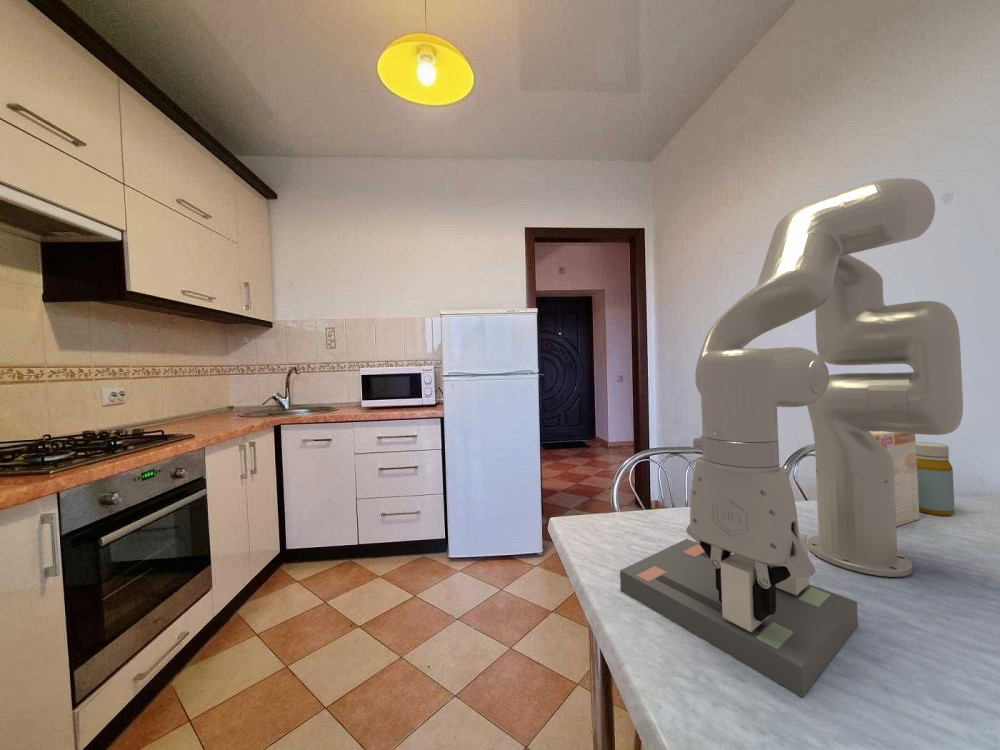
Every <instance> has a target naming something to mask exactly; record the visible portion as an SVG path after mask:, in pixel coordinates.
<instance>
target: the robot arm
mask: <svg viewBox="0 0 1000 750" xmlns="http://www.w3.org/2000/svg"><path fill="white" fill-rule="evenodd" d="M933 194H934V193H933V192H932V190H931V189H930V187H929V186H928V185H927V184H926V183H925V182H923V181H921V180H919V179H916V178H902V177H901V178H900V177H899V178H898V177H897V178H885V179H879V180H875V181H870V182H868V183H864V184H861V185H859V186H856V187H853V188H851V189H847V190H844V191H842V192H838V193H836V194H833V195H830V196H827V197H824V198H821V199H819V200H816V201H813V202H810V203H807V204H805V205H802V206H799V207H798V208H796V209H794V210H792V211H790V212H788V213H787V214H786V215H785V216H784V217H782V219H780V220H779V222H778V223H777V224H776V227H775V229H774V231H773V234H772V237H771V241H770V243H769V246H768V250H767V252H766V256H765V259H764V262H763V265H762V268H761V271H760V274H759V277H758V281H757V284H756V285H755V287H754V288H752V289H751V290H750V291H749V292H747V293H746V294H745V295H744V296H742V297H741V298H740V299H738V300H737V301H736V302H735V303H734V304H733V305H732V306H731V307H729V308H728V309H727V310H726V311H725V312H724V313H723V314H722V315H720V317H719V318H717V320H716V321H715V322H714V323H713V325H712V326H711V327H710V329H709V330H708V332H707V334H706V337H705V340H704V342H703V344H702V348H701V351H700V354H699V357H698V359H697V362H696V363H697V364H696V366H695V367H696V368H695V374H694V375H695V376H694V377H695V379H694V380H695V381H694V382H695V386H696V389H697V392H698V393H699V394H700V400H701V401H700V405H701V406H700V407H701V430H702V431H701V433H702V434H701V435H700V437H694V439H693V441H692V445H693V447H694V448H696V449H699V450H701V456H703V458H698V459H696V461H695V465H694V470H693V475H692V482H691V490H690V505H689V506H690V507H689V522H690V523H689V524H688V526H687V527H686V531H685V532H686V534H687V535H689V537H691V538H692V539H693V541H694V542H697V543H699V544H700V545H701V547H702V548H703V550H704V551H705V552H706V554H707V555H708V556H709V558H710V563H711V565H712V566H713V567H714V568H715V573H716V589H717V590H718V591H719V602H721V603H722V587H721V561H723V560H724V559H726V558H728V557H729V556H731V555H733V554H737V555H740V556H742V557H745V558H748V559H751V560H754V561H755V567H756V574H757V582H756V583H755V584H753V611H754V618H755V619H756V620H758V621H760V622H762V621H763V620H765V619H766V618H767V617H768V616H769V615H770V614H771V615H773V614H774V613H775V611H776V584H777V583H780V582H782V581H784V580H786V579H787V578H807V577H809V578H811V576H813V575H814V574H815V573H816V568H815V566H814V565H813V562H812V561H811V559H810V558H809V555H808V556H807V554H806V553H805V551H804V549H803V548H802V546H801V544H800V540H799V533H800V529H799V528H800V527H799V520H798V513H797V507H796V502H795V497H794V492H793V488H792V485H791V481H790V477H789V474H788V472H787V468H786V467H780V451H779V450H780V448H779V423H778V422H779V420H778V408H800V407H805V406H807V407H806V408H807V410H808V414H809V419H810V423H811V427H812V433H813V440H814V453H815V454H814V455H815V456H814V457H815V474H816V475H815V476H816V477H815V479H816V501H817V504H816V505H817V521H818V525H817V528H818V535H815V536H812V537H809V538H807V543H808V550H809V551H810V552H811V553H812V554H814V555H815V556H817V557H818V558H819V559H821V560H823V561H825V562H827V563H830V564H832V565H835V566H837V567H841V568H844V569H846V570H850V571H853V572H856V573H857V572H858V573H862V574H867V575H871V576H878V577H888V578H898V577H900V578H901V577H907V576H909V575H911V574H912V573H913V562H911V561H910V559H909V558H907V557H906V556H905V555H903V554H901V553H900V552H898V540H897V539H898V538H897V526H896V511H895V488H894V464H893V460H892V457H891V455H890V453H889V452H888V450H887V449H886V448H885V447H884V446H883V444H882V443H881V442H879V441H878V440H877V439H876V438H875V437H874V436H873V435H872V434H871V433H870V432H869V431H884V432H897V433H910V434H915V435H926V436H927V435H928V436H929V435H930V436H932V435H933V436H939V435H940V436H941V435H942V436H943V435H947V434H951V433H953V432H955V431H956V430H957V429H958V428H959V427H960V425H961V423H962V419H963V414H964V412H963V411H964V401H963V400H964V394H963V378H962V375H963V374H962V357H961V356H962V355H961V337H960V329H959V324H958V321H957V318H956V315H955V313H954V311H953V310H952V309H951V307H950V306H948V305H946V304H945V303H943V302H939V301H934V300H932V301H931V300H925V301H924V300H923V301H912V302H904V303H896V304H891V305H885V301H884V288H883V287H884V281H883V277H882V276H881V273H879V272H878V271H877V270H876V269H874V268H873V267H872V266H871V265H869V264H868V263H866V262H864V261H862V260H860V259H858V258H856V257H854V256H853V255H851V254H855V253H859V252H864V251H867V250H868V251H869V250H872V249H878V248H881V247H885V246H889V245H893V244H899V243H902V242H906V241H907V242H908V241H910V240H914V239H917V238H919V237H921V236H922V235H924V234H925V233H926V231H927V230H928V229H929V228H930V226H931V224H932V222H933V220H934V217H935V212H936V202H935V201H936V200H935V197H934V195H933ZM813 311H815V340H816V343H815V344H816V349H817V353H816V352H815V351H813V350H811V349H808V348H803V347H796V346H790V347H787V346H784V347H773V348H772V347H771V348H745V347H746V346H747V345H748V344H749V343H751V342H752V341H753V340H755V339H757V338H758V337H760V336H761V335H763V334H766V333H768V332H770V331H772V330H774V329H776V328H779V327H781V326H784V325H786V324H788V323H791V322H792V321H795V320H797V319H800V318H801V317H803V316H805V315H808V314H809V313H811V312H813ZM826 363H827V364H828V365H834V366H872V365H879V366H880V365H902V364H903V365H908V366H910V367H911V369H912V370H913V372H912V371H910V372H909V371H908V372H905V371H904V372H850V373H849V372H847V373H844V372H843V373H834V374H833V373H832V374H830V373H829V372H830V371H829V368H828V365H827V364H826ZM789 558H790V560H791V563H788V564H787V562H788V560H789Z"/></svg>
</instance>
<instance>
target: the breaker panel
mask: <svg viewBox="0 0 1000 750" xmlns="http://www.w3.org/2000/svg"><path fill="white" fill-rule="evenodd" d="M619 577H620V578H619V580H620V581H619V582H620V591H621V592H622V593H624V594H626V595H628V596H630V597H632V598H633V599H634V600H637V601H638V602H640V603H641V604H642V605H645V606H646V607H649V608H650V609H651V610H652V611H655V612H657V613H658V614H660V615H662V616H663V617H665V618H667V619H668V620H670V621H673V623H675V624H676V625H678V626H680V627H681V628H684V629H685V630H687V631H689V632H691V633H692V634H694V635H696V636H697V637H699V638H700V639H702V640H703V641H705V642H708V643H709V644H711V645H712V646H714V647H716V648H718V649H719V650H721V651H722V652H724V653H726V654H728V655H729V656H731V657H733V658H735V659H736V660H738V661H740V662H742V663H743V664H745V665H746V666H748V667H750V668H752V669H753V670H755V671H756V672H758V673H760V674H762V675H763V676H765V677H766V678H768V679H770V680H772V681H774V682H775V683H777V684H779V685H780V686H782V687H783V688H785V689H787V690H789V691H791V692H792V693H794V694H796V695H797V696H799V697H801V698H804V697H805V696H806V695H807V693H808V692H809V691H810V689H811V688H812V686H813V685H814V684H815V683H816V681H817V680H818V679H819V677H820V676H821V675H822V674H823V672H824V671H825V669H826V668H827V667H828V665H829V664H830V663H831V662H832V660H833V659H834V658H835V656H836V655H838V652H839V651H840V650H841V649H842V647H843V646H844V645H845V643H846V642H847V641H848V640H849V638H850V637H851V635H852V634H853V633H854V632H855V630H856V629H857V628H858V627H859V621H858V620H859V619H858V618H859V617H858V601H855V600H853V599H850V598H848V597H844V596H842V595H839V594H837V593H834V592H832V591H829V590H826V589H823V588H821V587H818V586H815V585H813V584H810V583H809V585H808V586H806V587H805V588H804V589H803V590H802V591H801V592H800V593H799V594H797V595H794V594H792V593H789V592H787V591H784V590H782V589H779V588H777V587H776V611H775V613H774V614H773V615H771V614H770V615H769V616H768V618H767V619H766V620H765V621H763V622H762V623H761V624H760V625H759V626H758V627H757V628H755V629H754V630H753V631H752V632H750V631H748V630H746V629H744V628H742V627H740V626H738V625H736V624H734V623H732V622H730V621H729V620H727V619H725V618H723V613H722V603H721V602H719V591H718V590H717V589H716V573H715V568H714V567H713V566H712V565H711V563H710V558H709V556H708V555H707V554H706V552H705V551H704V550H703V548H702V547H701V545H700V544H699V543H697V542H696V541H695V540H691V539H689V538H685V539H683V540H681V541H679V542H677V543H674V544H673V545H670V546H668V547H666V548H664V549H662V550H660V551H658V552H656V553H654V554H652V555H650V556H648V557H645V558H643V559H641V560H639V561H637V562H634V563H633V564H631V565H628V566H626V567H624V568H622V569H620V570H619Z"/></svg>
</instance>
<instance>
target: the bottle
mask: <svg viewBox="0 0 1000 750" xmlns="http://www.w3.org/2000/svg"><path fill="white" fill-rule="evenodd" d="M915 442H916V460H917V479H918V499H919V513H921V514H926V515H930V516H931V515H932V516H940V517H947V516H948V517H949V516H951V515H953V514H955V509H956V508H955V493H954V492H955V491H954V490H955V489H954V488H955V487H954V469H953V466H952V464H951V462H950V461H949V460H950V456H949V455H950V451H949V450H950V449H949V448H950V447H949V445H948V444H945V443H939V442H937V443H936V442H928V441H915Z"/></svg>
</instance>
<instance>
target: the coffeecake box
mask: <svg viewBox="0 0 1000 750" xmlns="http://www.w3.org/2000/svg"><path fill="white" fill-rule="evenodd" d="M869 432H870V433H871V434H872V435H873V436H874V437H875V438H876V439H877V440H878V441H879V442H881V443H882V444H883V446H884V447H885V448H886V449H887V450H888V452H889V453H890V455H891V457H892V460H893V464H894V488H895V511H896V527H900V526H902V525H903V526H904V525H905V524H909V523H912V522H915V521H918V520H920V519H921V517H920V512H919V499H918V479H917V460H916V442H917V441H916V434H910V433H897V432H884V431H869Z"/></svg>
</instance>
